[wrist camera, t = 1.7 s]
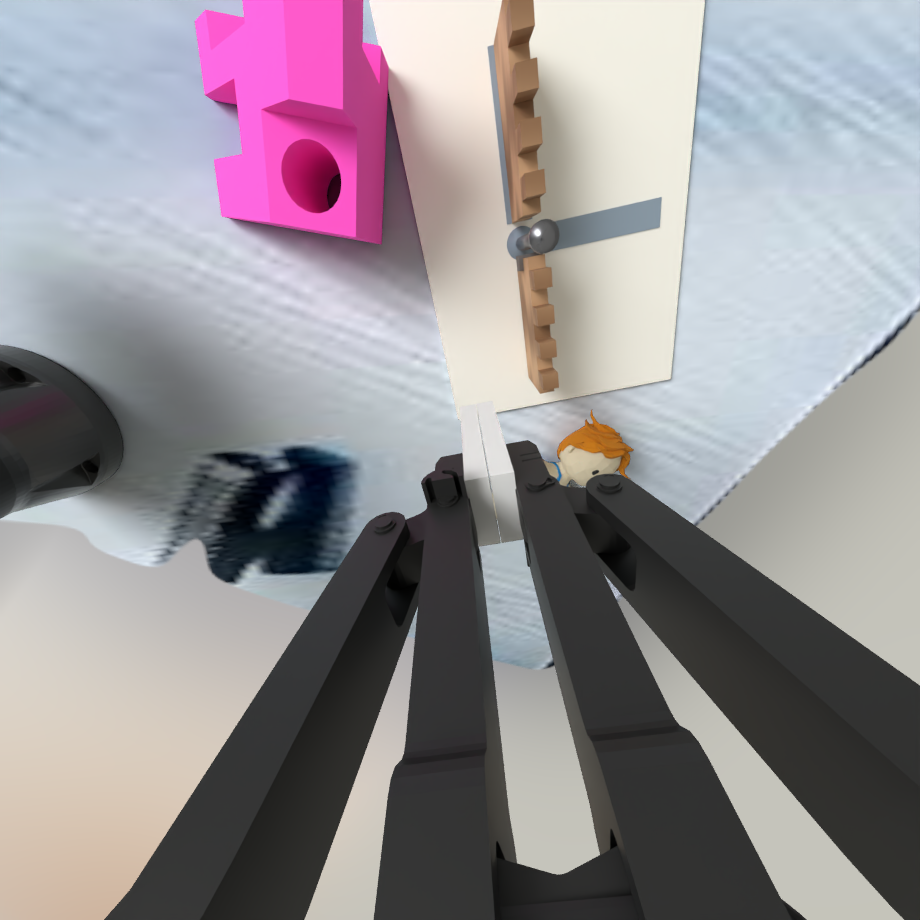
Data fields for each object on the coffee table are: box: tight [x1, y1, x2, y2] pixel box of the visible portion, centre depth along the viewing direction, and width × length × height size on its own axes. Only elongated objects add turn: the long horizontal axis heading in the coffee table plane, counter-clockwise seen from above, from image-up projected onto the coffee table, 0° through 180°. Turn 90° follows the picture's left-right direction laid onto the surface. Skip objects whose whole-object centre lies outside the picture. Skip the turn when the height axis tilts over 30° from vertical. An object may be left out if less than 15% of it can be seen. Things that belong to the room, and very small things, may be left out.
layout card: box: [369, 0, 705, 420], centre depth 29 cm, size 21×29×1 cm
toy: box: [492, 410, 634, 519], centre depth 37 cm, size 12×6×15 cm
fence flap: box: [516, 252, 559, 394], centre depth 29 cm, size 10×2×7 cm, turn 11°
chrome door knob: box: [516, 219, 559, 254], centre depth 25 cm, size 2×2×8 cm
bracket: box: [195, 0, 389, 244], centre depth 21 cm, size 12×10×10 cm
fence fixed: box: [494, 0, 546, 223], centre depth 23 cm, size 10×1×7 cm, turn 11°
